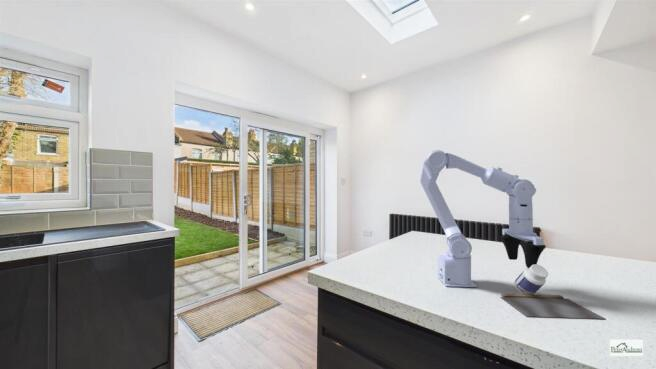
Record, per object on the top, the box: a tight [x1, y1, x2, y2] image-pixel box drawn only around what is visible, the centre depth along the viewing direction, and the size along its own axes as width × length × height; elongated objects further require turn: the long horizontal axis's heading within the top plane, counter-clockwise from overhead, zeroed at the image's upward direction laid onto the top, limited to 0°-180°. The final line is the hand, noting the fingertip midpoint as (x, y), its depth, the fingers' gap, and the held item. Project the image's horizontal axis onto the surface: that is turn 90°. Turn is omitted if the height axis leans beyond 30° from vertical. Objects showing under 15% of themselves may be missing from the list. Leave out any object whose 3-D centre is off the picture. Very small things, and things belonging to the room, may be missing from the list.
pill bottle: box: [514, 263, 549, 295], centre depth 71 cm, size 5×5×9 cm
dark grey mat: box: [500, 293, 606, 320], centre depth 66 cm, size 18×11×1 cm, turn 86°
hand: (521, 263), depth 75 cm, fingers open, 7 cm apart
